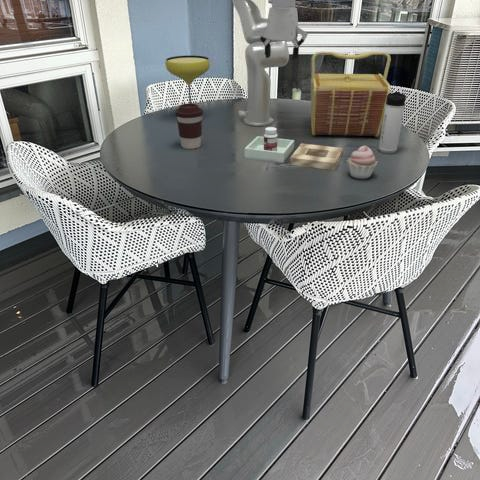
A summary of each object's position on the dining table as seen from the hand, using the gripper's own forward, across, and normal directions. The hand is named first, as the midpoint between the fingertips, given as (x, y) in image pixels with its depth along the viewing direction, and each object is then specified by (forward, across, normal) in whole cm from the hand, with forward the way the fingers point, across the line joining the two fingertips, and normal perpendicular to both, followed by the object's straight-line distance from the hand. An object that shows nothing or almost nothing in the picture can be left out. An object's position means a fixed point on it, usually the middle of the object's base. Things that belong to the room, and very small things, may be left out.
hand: (281, 58), depth 157 cm
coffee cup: (+30, -28, -18) cm, 45 cm away
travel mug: (+29, +40, +2) cm, 50 cm away
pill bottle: (+29, +2, -15) cm, 33 cm away
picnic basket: (+30, +21, +20) cm, 42 cm away
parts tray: (+29, +2, -15) cm, 33 cm away
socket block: (+29, +19, -15) cm, 38 cm away
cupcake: (+29, +35, -24) cm, 51 cm away
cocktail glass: (+31, -44, +13) cm, 55 cm away
